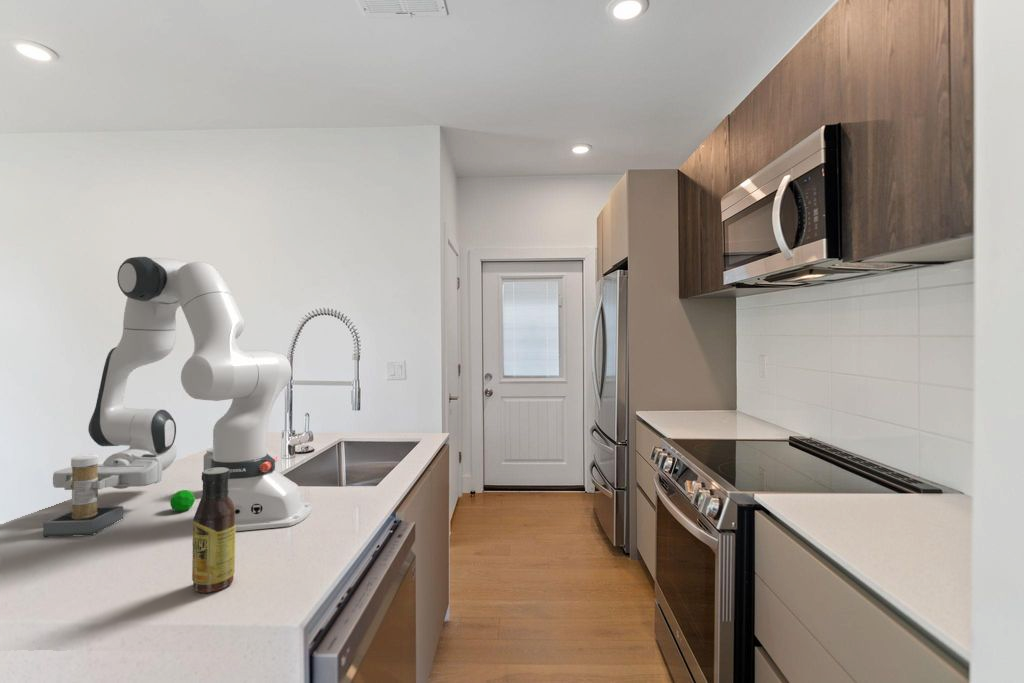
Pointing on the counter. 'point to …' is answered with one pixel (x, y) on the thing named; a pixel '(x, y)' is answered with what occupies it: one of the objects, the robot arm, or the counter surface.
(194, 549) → the sauce bottle
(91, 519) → the bin
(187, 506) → the polyhedron
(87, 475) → the sprinkles bottle
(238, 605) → the counter surface
